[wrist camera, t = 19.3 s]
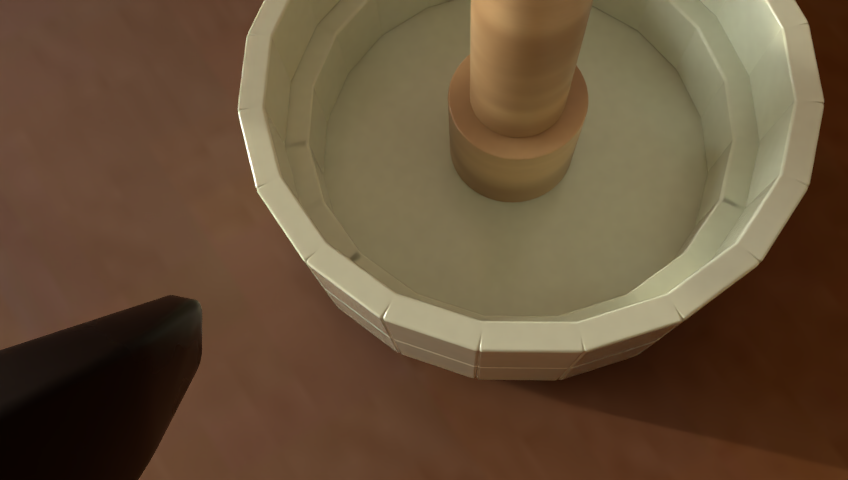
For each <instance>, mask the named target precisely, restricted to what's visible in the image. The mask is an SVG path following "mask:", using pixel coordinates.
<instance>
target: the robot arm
mask: <svg viewBox="0 0 848 480" xmlns="http://www.w3.org/2000/svg"><path fill="white" fill-rule="evenodd" d="M201 355H202V308H201V305H200V303H199V302H198V301H197V300H194V299H189V298H184V297H179V296H174V295H169V296H165V297H162V298H159V299H156V300H153V301H150V302H147V303H144V304H141V305H138V306H135V307H132V308H129V309H126V310H123V311H119V312H116V313H113V314H110V315H107V316H104V317H101V318H98V319H95V320H92V321H89V322H86V323H83V324H80V325H76V326H73V327H70V328H67V329H64V330H61V331H58V332H55V333H52V334H49V335H46V336H43V337H40V338H37V339H34V340H30V341H27V342H24V343H21V344H18V345H15V346H12V347H9V348H6V349H3V350H0V480H138V479H139V477H140V476H141V474H142V473H143V471H144V470H145V468H146V466H147V465H148V463H149V462H150V460H151V458H152V456H153V454H154V453H155V451H156V449H157V447H158V445H159V443H160V441H161V439H162V437H163V436H164V434H165V432H166V430H167V428H168V426H169V424H170V422H171V420H172V418H173V416H174V414H175V412H176V410H177V408H178V406H179V404H180V402H181V400H182V399H183V397H184V395H185V393H186V391H187V389H188V387H189V385H190V383H191V381H192V379H193V377H194V375H195V373H196V371H197V369H198V367H199V364H200V360H201Z"/></svg>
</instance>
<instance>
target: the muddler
mask: <svg viewBox="0 0 848 480" xmlns="http://www.w3.org/2000/svg"><path fill="white" fill-rule="evenodd" d="M592 4H593V0H471V25H470V54H469V55H468V56H467V57H466V58H465V59H464V60H463V61H462V62H461V64H460V65H459V66H458V68H457V69H456V71H455V73H454V74H453V76H452V79H451V82H450V85H449V90H448V116H449V137H450V154H451V159H452V162H453V165H454V168H455V170H456V171H457V173H458V175H459V176H460V178H461V179H462V180H463V181H464V182H465V183H466V184H467V185H468V186H469V187H470V188H471V189H473V190H474V191H475V192H477V193H479V194H480V195H482V196H484V197H487V198H489V199H493V200H496V201H501V202H523V201H528V200H532V199H535V198H538V197H540V196H542V195H544V194H546V193H547V192H549V191H550V190H552V189H553V188H554V187H555V186H556V185H557V184H558V183H559V182H560V181H561V180H562V179H563V177H564V176H565V174H566V173H567V170H568V168H569V166H570V163H571V160H572V157H573V154H574V151H575V148H576V145H577V142H578V139H579V136H580V133H581V130H582V127H583V124H584V121H585V117H586V114H587V110H588V104H589V102H588V89H587V85H586V82H585V79H584V77H583V75H582V73H581V71H580V70H579V68H578V67H577V65H576V64H577V60H578V56H579V53H580V49H581V45H582V41H583V38H584V34H585V30H586V26H587V22H588V19H589V15H590V11H591V7H592Z"/></svg>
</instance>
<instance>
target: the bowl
mask: <svg viewBox="0 0 848 480" xmlns="http://www.w3.org/2000/svg"><path fill="white" fill-rule="evenodd" d="M470 25H471V0H264V2H263V4H262V6H261V8H260V10H259V12H258V14H257V16H256V18H255V20H254V22H253V24H252V26H251V28H250V30H249V32H248V35H247V37H246V44H245V52H244V60H243V69H242V77H241V85H240V93H239V101H238V116H239V120H240V125H241V129H242V133H243V137H244V141H245V146H246V150H247V154H248V158H249V162H250V166H251V171H252V175H253V179H254V183H255V187H256V189H257V192H258V194H259V195H260V197H261V198H262V200H263V201H264V203H265V204H266V206H267V207H268V209H269V210H270V212H271V213H272V215H273V216H274V218H275V219H276V221H277V222H278V224H279V225H280V227H281V228H282V230H283V231H284V233H285V234H286V236H287V237H288V239H289V240H290V242H291V243H292V245H293V246H294V247H295V249H296V250H297V252H298V253H299V255H300V256H301V258H302V259H303V261H304V262H305V264H306V265H307V266H308V268H309V269H310V270H311V272H312V273H313V275H314V276H315V277H316V279H317V280H318V281H319V283H320V284H321V285H322V287H323V288H324V289H325V291H326V292H327V294H328V295H329V296H330V298H331V299H332V300H333V302H334V303H335V304H336V305H337V306H338V308H339V309H341V310H342V311H343V312H345V313H346V314H347V315H348V316H350V317H351V318H352V319H354V320H355V321H356V322H358V323H359V324H360V325H362V326H363V327H364V328H366V329H367V330H368V331H370V332H371V333H372V334H374V335H375V336H376V337H378V338H379V339H380V340H382V341H383V342H384V343H386V344H387V345H388V346H390V347H391V348H392V349H394V350H395V351H396V352H400V353H401V354H402V355H405V356H408V357H411V358H414V359H417V360H420V361H423V362H426V363H429V364H432V365H435V366H438V367H440V368H443V369H446V370H449V371H452V372H455V373H458V374H461V375H464V376H467V377H470V378H476V377H477V379H479V380H558V379H559V380H563V379H566V378H569V377H572V376H575V375H578V374H582V373H585V372H588V371H591V370H594V369H597V368H600V367H604V366H607V365H610V364H613V363H616V362H619V361H622V360H626V359H629V358H632V357H635V356H636V355H639V354H640V353H642V352H643V351H644V350H646V349H647V348H648V347H650V346H651V345H653V344H654V343H655V342H657V341H658V340H659V339H661V338H662V337H663V336H665V335H666V334H667V333H669V332H670V331H672V330H673V329H674V328H676V327H677V326H678V325H680V324H681V323H682V322H684V321H685V320H686V319H688V318H689V317H690V316H692V315H693V314H694V313H696V312H697V311H698V310H700V309H701V308H702V307H704V306H705V305H706V304H708V303H709V302H710V301H712V300H713V299H714V298H716V297H717V296H718V295H720V294H721V293H722V292H724V291H725V290H726V289H728V288H729V287H730V286H732V285H733V284H734V283H736V282H737V281H738V280H740V279H741V278H742V277H744V276H745V275H746V274H748V273H749V272H750V271H752V270H753V269H754V268H756V267H757V266H758V265H759V263H760V262H762V261H763V260H764V258H765V257H766V255H767V253H768V252H769V250H770V249H771V247H772V245H773V244H774V242H775V241H776V239H777V238H778V236H779V234H780V233H781V231H782V230H783V228H784V226H785V225H786V223H787V222H788V220H789V219H790V217H791V215H792V214H793V212H794V211H795V209H796V208H797V206H798V204H799V203H800V201H801V200H802V198H803V196H804V195H805V193H806V192H807V190H808V186H809V185H810V181H811V175H812V170H813V164H814V159H815V153H816V148H817V142H818V137H819V132H820V126H821V121H822V115H823V110H824V96H823V91H822V86H821V81H820V76H819V71H818V66H817V61H816V56H815V51H814V46H813V41H812V36H811V31H810V26H809V25H808V21H807V19H806V17H805V16H804V14H803V12H802V11H801V9H800V7H799V6H798V4H797V2H796V1H795V0H593V4H592V7H591V11H590V15H589V19H588V22H587V26H586V30H585V34H584V38H583V41H582V45H581V49H580V53H579V56H578V60H577V64H576V65H577V67H578V68H579V70H580V71H581V73H582V75H583V77H584V79H585V82H586V85H587V89H588V102H589V104H588V110H587V114H586V117H585V121H584V124H583V127H582V130H581V133H580V136H579V139H578V142H577V145H576V148H575V151H574V154H573V157H572V160H571V163H570V166H569V168H568V170H567V173H566V174H565V176H564V177H563V179H562V180H561V181H560V182H559V183H558V184H557V185H556V186H555V187H554V188H553V189H552V190H550V191H549V192H547V193H546V194H544V195H542V196H540V197H538V198H535V199H532V200H528V201H523V202H501V201H496V200H493V199H489V198H487V197H484V196H482V195H480V194H479V193H477V192H475V191H474V190H473V189H471V188H470V187H469V186H468V185H467V184H466V183H465V182H464V181H463V180H462V179H461V178H460V176H459V175H458V173H457V171H456V170H455V168H454V165H453V162H452V159H451V154H450V137H449V116H448V90H449V85H450V82H451V79H452V76H453V74H454V73H455V71H456V69H457V68H458V66H459V65H460V64H461V62H462V61H463V60H464V59H465V58H466V57H467V56H468V55H469V54H470Z"/></svg>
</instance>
